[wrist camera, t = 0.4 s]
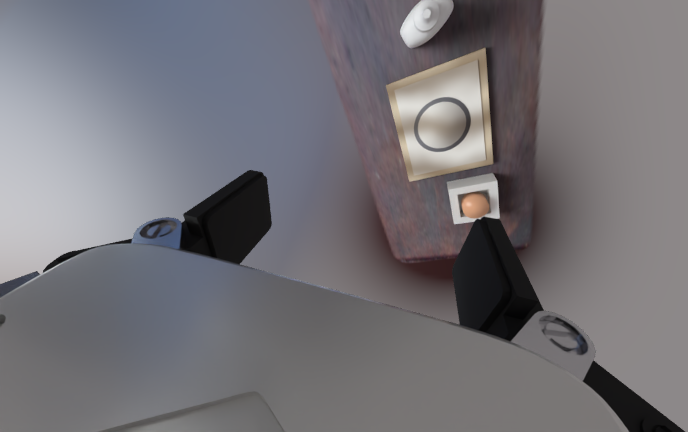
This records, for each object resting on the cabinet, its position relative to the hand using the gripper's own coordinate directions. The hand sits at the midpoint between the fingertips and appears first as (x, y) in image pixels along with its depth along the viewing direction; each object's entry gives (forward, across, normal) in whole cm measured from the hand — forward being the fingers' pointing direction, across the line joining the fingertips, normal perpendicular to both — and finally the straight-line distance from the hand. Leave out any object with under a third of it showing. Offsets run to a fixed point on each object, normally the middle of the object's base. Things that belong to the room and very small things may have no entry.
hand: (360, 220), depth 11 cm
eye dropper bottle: (+33, -1, -10) cm, 35 cm away
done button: (+31, -15, +13) cm, 37 cm away
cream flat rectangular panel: (+33, -6, +2) cm, 34 cm away
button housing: (+33, -15, +13) cm, 39 cm away
